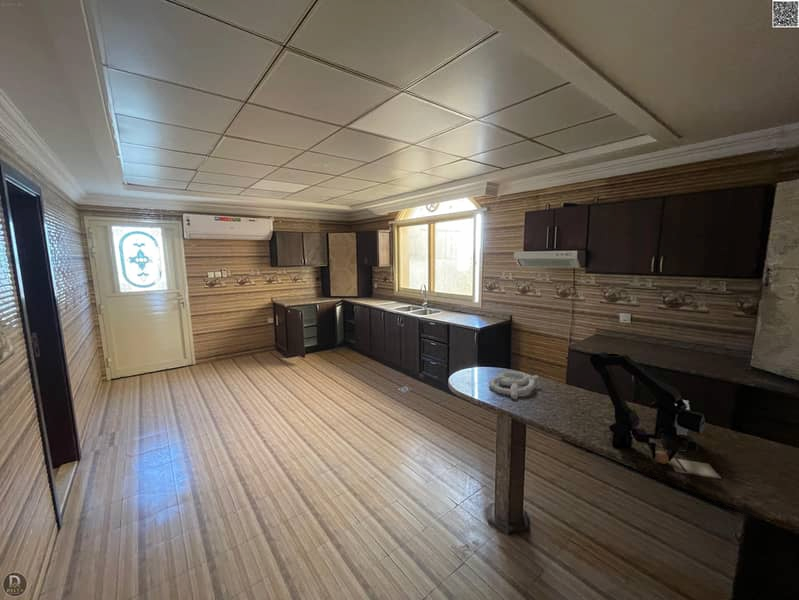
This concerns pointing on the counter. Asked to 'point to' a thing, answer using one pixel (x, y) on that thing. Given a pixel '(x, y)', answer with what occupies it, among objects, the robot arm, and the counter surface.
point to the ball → (661, 457)
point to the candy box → (680, 429)
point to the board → (693, 468)
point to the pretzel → (513, 383)
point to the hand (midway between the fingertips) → (660, 459)
